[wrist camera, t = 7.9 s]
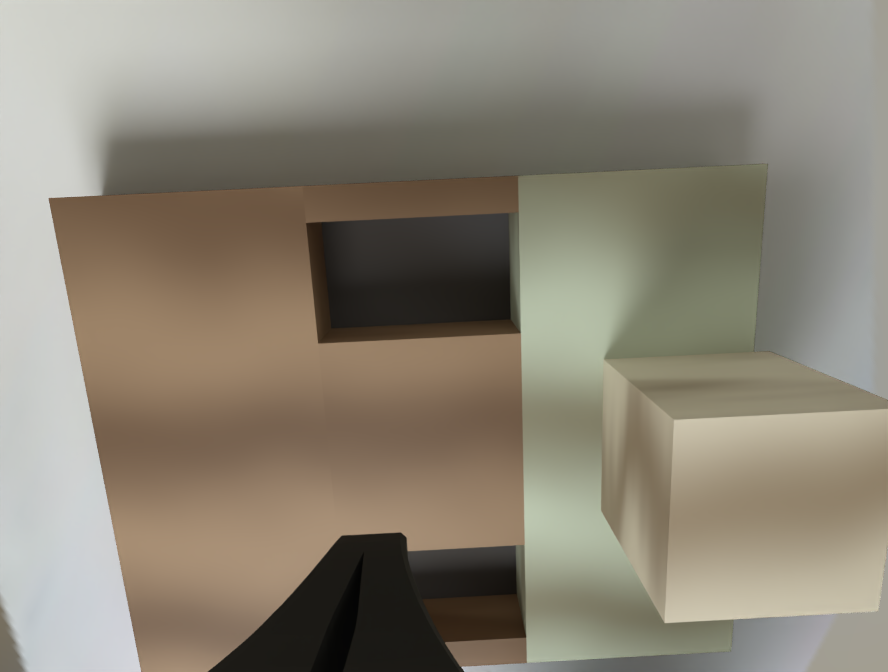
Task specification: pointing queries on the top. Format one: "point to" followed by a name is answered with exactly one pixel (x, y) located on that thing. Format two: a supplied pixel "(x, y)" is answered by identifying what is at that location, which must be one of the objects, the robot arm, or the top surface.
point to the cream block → (745, 485)
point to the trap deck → (395, 391)
